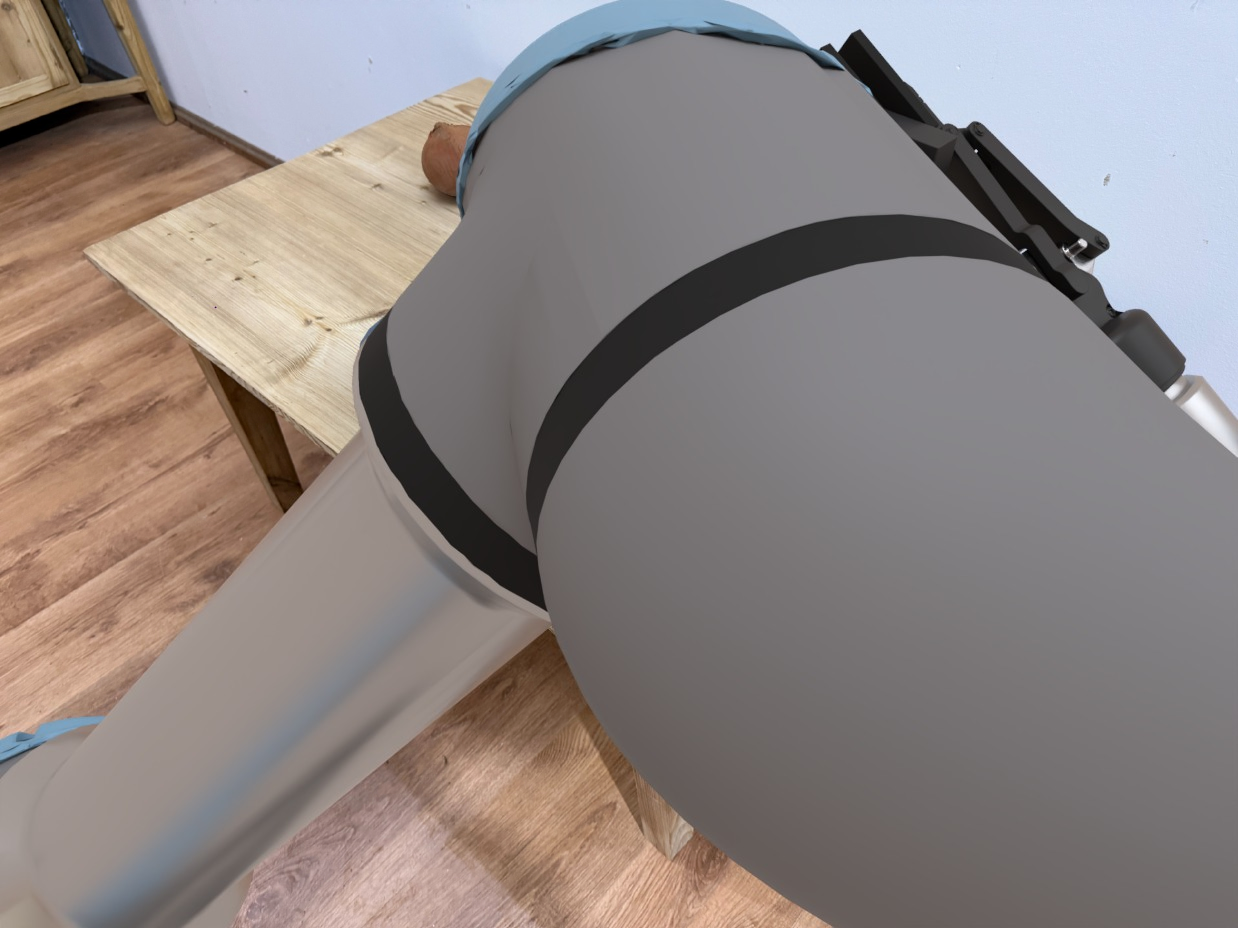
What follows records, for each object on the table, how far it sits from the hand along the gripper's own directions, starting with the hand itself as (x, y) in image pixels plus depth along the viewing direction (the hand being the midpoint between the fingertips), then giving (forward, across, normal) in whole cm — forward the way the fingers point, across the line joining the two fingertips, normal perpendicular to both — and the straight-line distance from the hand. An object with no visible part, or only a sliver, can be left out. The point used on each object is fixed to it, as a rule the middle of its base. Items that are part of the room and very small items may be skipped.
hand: (827, 58), depth 44 cm
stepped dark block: (+1, 0, -4) cm, 5 cm away
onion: (+36, +14, -65) cm, 76 cm away
